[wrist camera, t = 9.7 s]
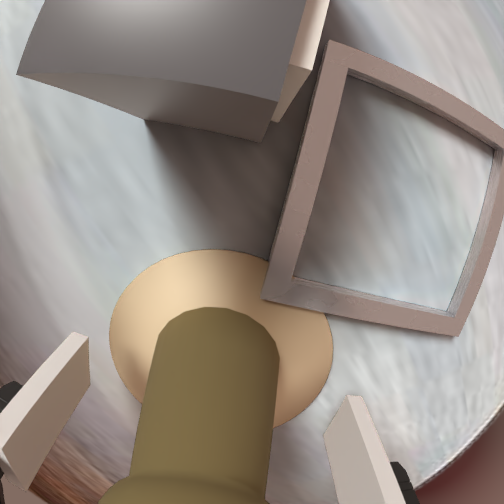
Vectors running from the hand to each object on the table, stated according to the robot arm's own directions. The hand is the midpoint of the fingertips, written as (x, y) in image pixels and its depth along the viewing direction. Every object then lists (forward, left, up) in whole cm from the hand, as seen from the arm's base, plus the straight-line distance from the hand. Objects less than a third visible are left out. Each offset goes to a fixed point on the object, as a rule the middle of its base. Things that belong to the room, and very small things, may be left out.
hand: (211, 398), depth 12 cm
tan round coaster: (0, 0, -3) cm, 3 cm away
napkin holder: (-3, +15, -3) cm, 16 cm away
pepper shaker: (0, 0, -3) cm, 3 cm away
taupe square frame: (+7, +10, -3) cm, 12 cm away
